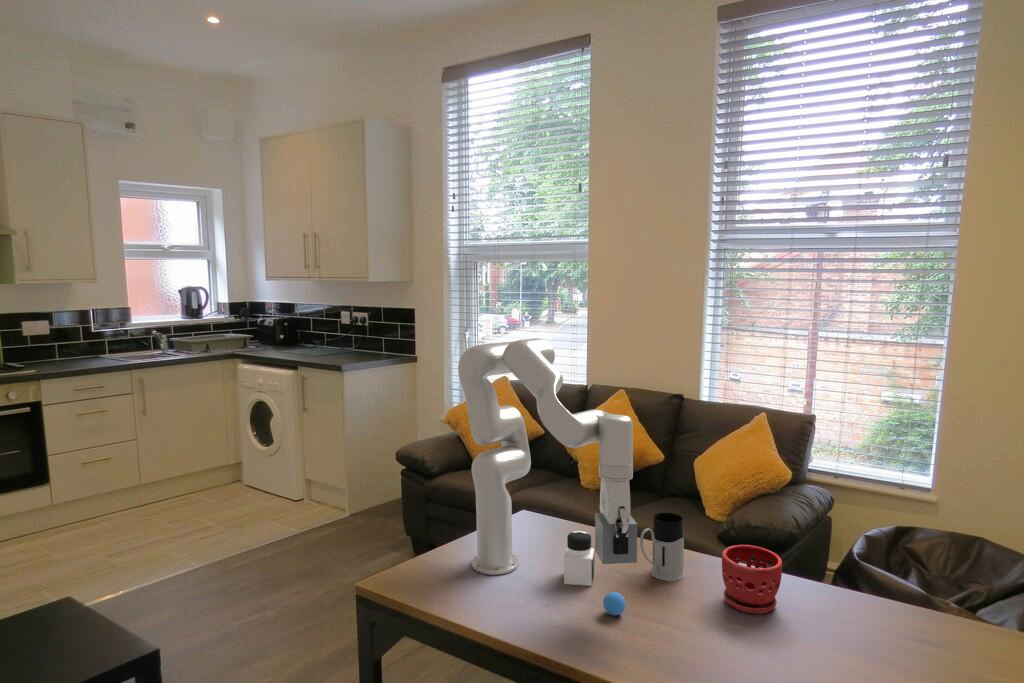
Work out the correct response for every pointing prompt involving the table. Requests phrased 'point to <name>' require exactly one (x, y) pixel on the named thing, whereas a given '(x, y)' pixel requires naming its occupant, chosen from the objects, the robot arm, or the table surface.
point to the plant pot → (751, 578)
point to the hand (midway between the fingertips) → (615, 545)
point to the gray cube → (605, 541)
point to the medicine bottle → (579, 559)
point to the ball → (614, 603)
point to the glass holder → (667, 546)
